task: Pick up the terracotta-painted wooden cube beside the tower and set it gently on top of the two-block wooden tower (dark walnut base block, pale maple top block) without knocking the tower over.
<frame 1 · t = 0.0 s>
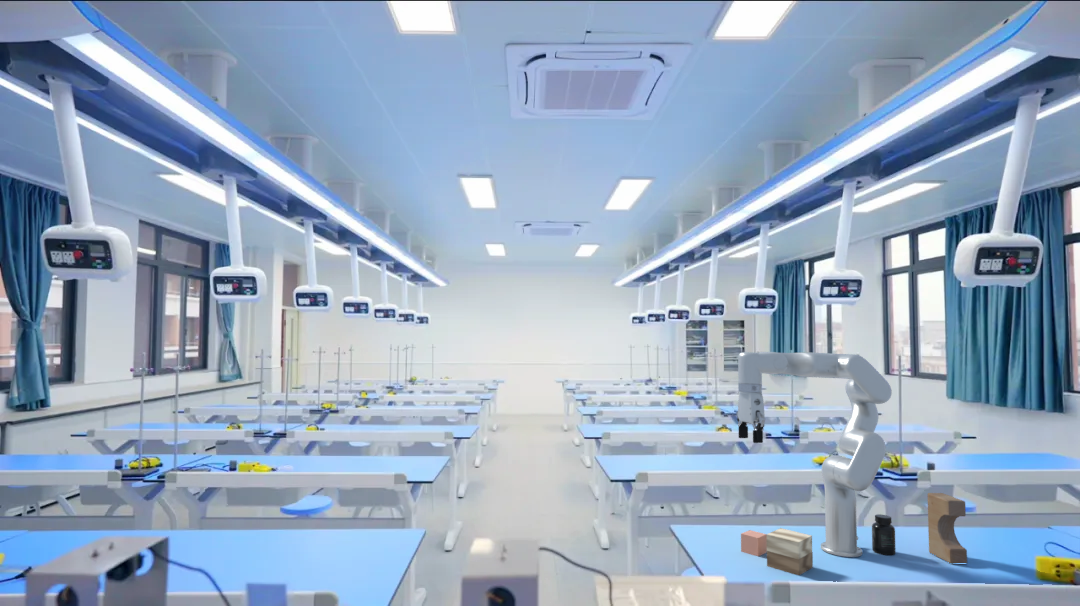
hand: (750, 440, 200), 37 cm above the table, tool pointing down, fingers open, 9 cm apart
terracotta cube: (753, 552, 200), on the table
supplement bottle: (883, 553, 202), on the table
walnut base block: (789, 567, 187), on the table
decorative block: (947, 559, 197), on the table
maple top block: (789, 551, 187), point 5 cm above the table
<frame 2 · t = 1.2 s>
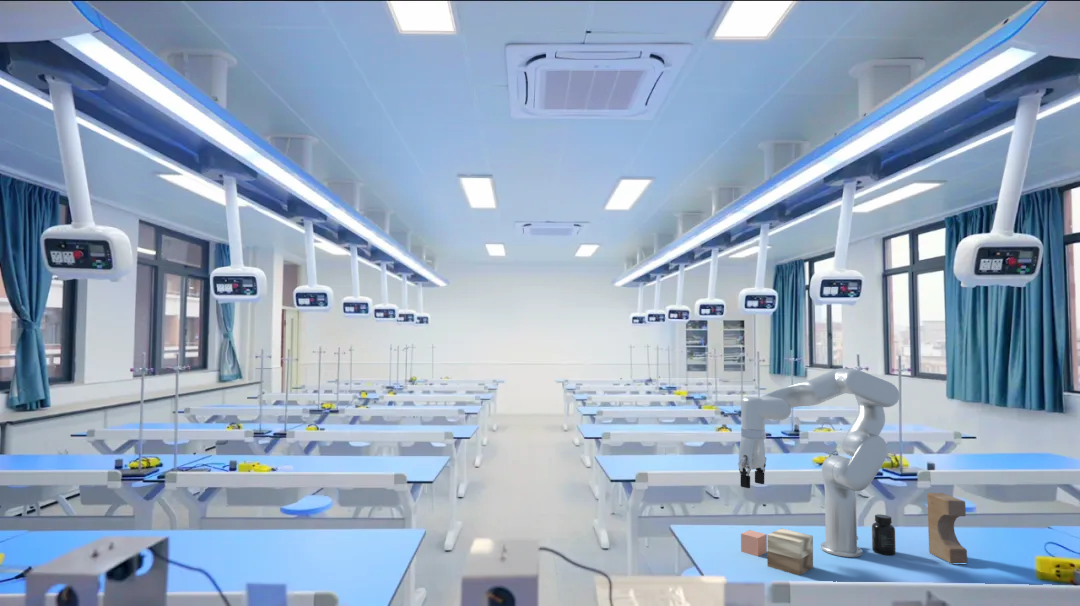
hand: (752, 485, 201), 22 cm above the table, tool pointing down, fingers open, 9 cm apart
walnut base block: (790, 567, 187), on the table, touching maple top block
maple top block: (790, 551, 187), point 5 cm above the table, touching walnut base block
everything else where it was.
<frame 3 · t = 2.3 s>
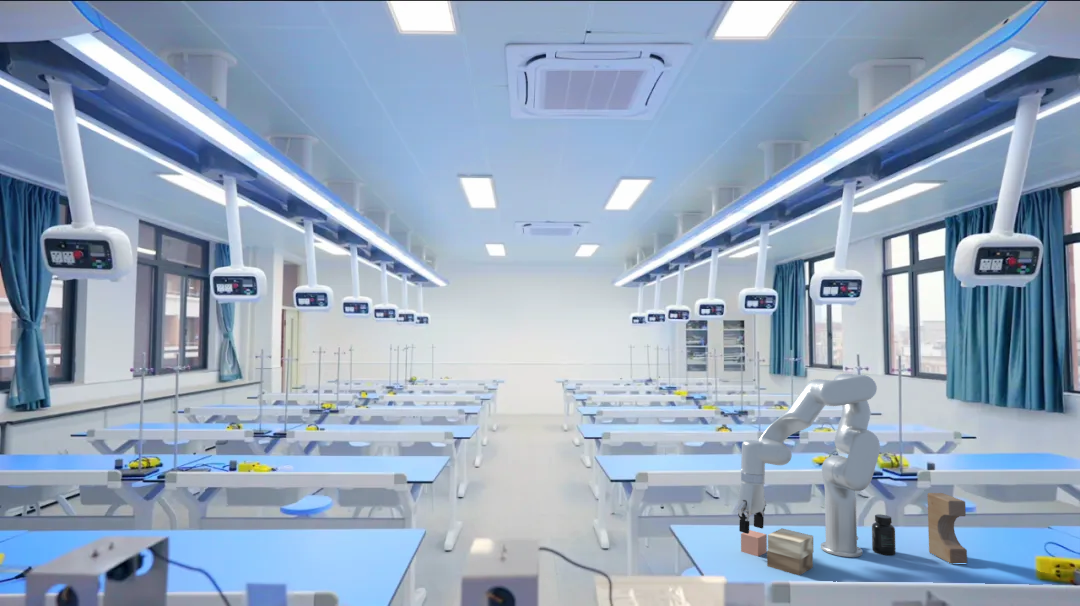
hand: (751, 529, 200), 7 cm above the table, tool pointing down, fingers open, 9 cm apart
nothing on the table moved.
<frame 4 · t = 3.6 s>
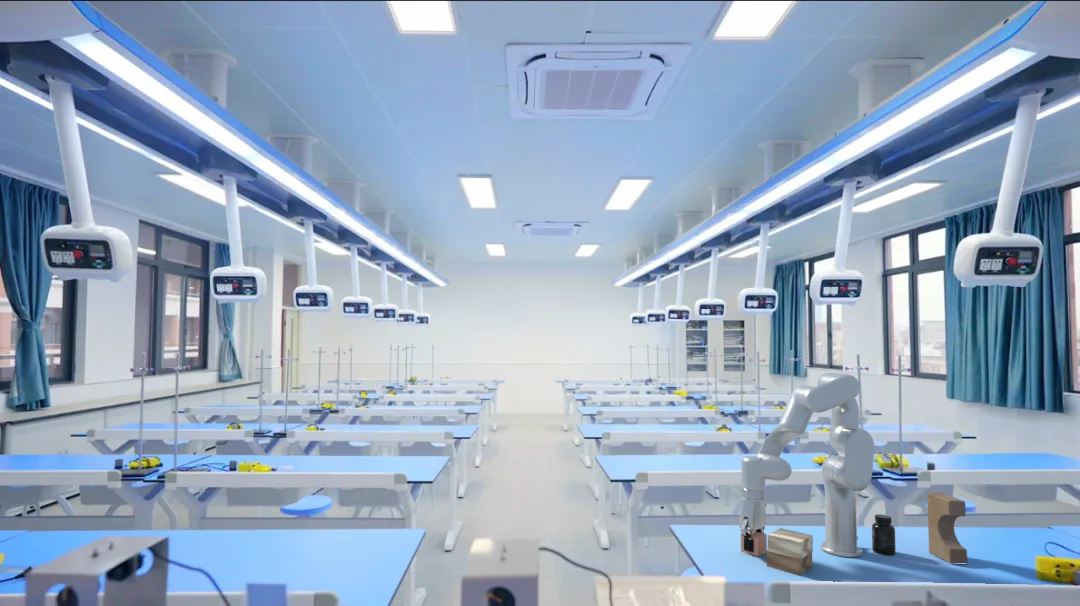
hand: (753, 548, 200), 1 cm above the table, tool pointing down, fingers closed on terracotta cube, 6 cm apart
terracotta cube: (753, 552, 200), on the table, touching gripper
everything else where it was.
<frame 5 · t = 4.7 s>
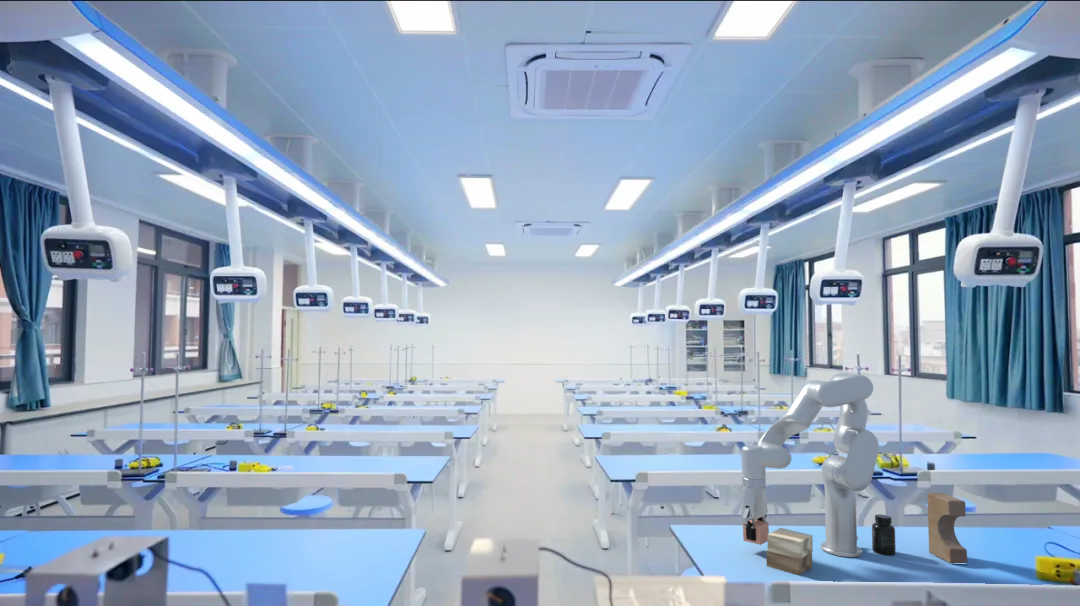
hand: (756, 536, 200), 5 cm above the table, tool pointing down, fingers closed on terracotta cube, 6 cm apart
terracotta cube: (756, 540, 200), point 4 cm above the table, touching gripper
everything else where it was.
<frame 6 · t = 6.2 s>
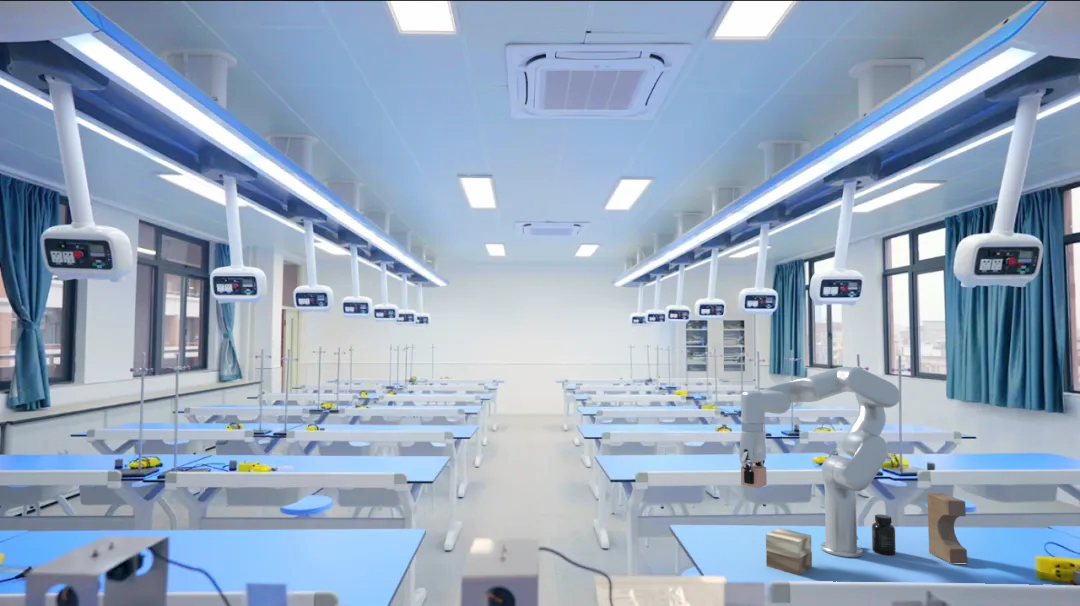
hand: (753, 481, 202), 23 cm above the table, tool pointing down, fingers closed on terracotta cube, 6 cm apart
terracotta cube: (753, 484, 201), point 22 cm above the table, touching gripper
everything else where it was.
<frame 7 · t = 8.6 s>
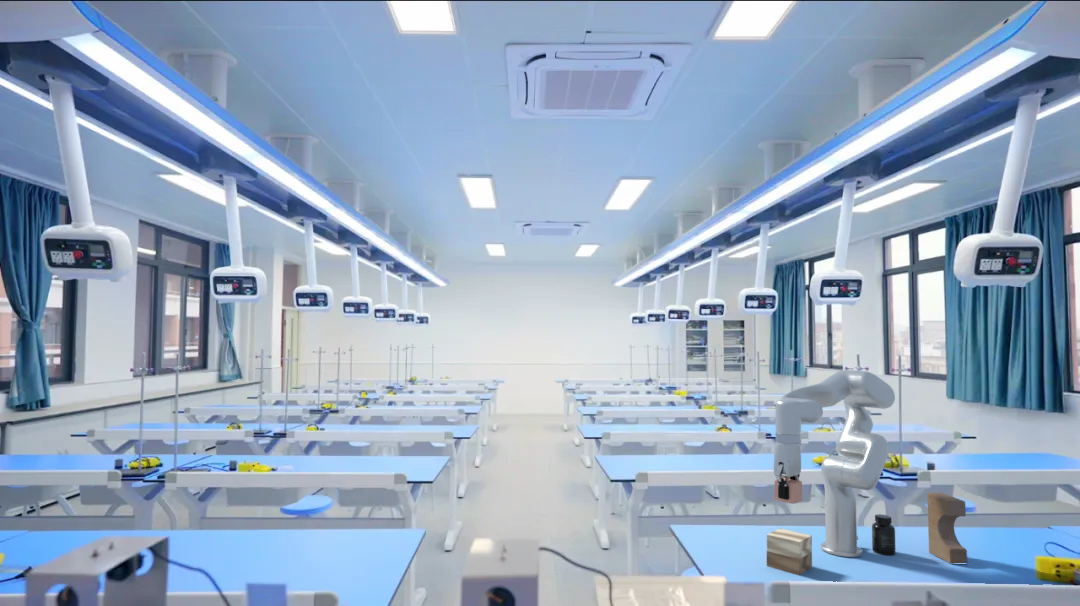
hand: (788, 496, 188), 22 cm above the table, tool pointing down, fingers closed on terracotta cube, 6 cm apart
terracotta cube: (788, 500, 188), point 20 cm above the table, touching gripper
everything else where it was.
when the fingers open (12 cm above the table, at t = 11.5 s): terracotta cube drops 2 cm, resting on maple top block.
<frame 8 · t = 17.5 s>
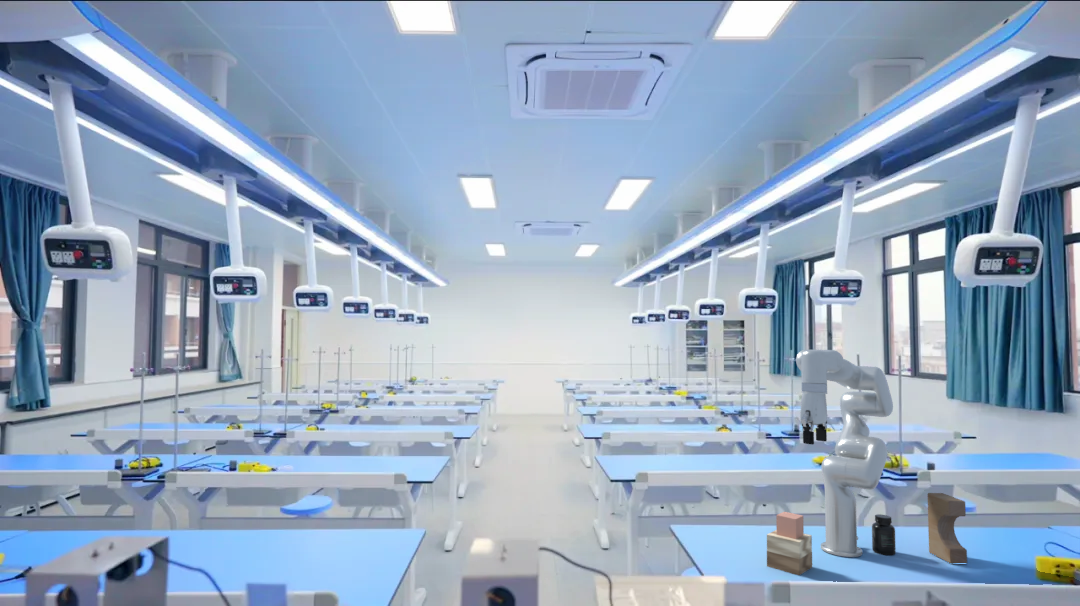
hand: (815, 442, 191), 38 cm above the table, tool pointing down, fingers open, 9 cm apart
terracotta cube: (790, 534, 188), point 10 cm above the table, touching maple top block
maple top block: (789, 551, 187), point 5 cm above the table, touching terracotta cube, walnut base block
everything else where it was.
at the end: terracotta cube 0.3 cm off-centre on the maple top block, point 5.0 cm above the maple top block's base; maple top block 0.0 cm off-centre on the walnut base block, point 5.0 cm above the walnut base block's base; terracotta cube tilted 0° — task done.
